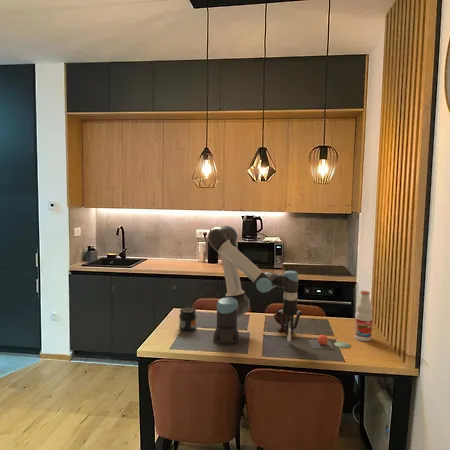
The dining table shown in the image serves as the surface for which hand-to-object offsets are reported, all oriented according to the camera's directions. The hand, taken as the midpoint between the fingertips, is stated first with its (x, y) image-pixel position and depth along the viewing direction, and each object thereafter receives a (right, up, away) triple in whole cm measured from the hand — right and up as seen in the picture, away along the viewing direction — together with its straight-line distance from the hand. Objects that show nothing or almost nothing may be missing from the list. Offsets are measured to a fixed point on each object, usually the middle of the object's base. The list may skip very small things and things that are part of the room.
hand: (288, 340), depth 211 cm
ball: (+19, 0, -1) cm, 19 cm away
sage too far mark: (+30, -3, 0) cm, 30 cm away
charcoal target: (+18, -2, 0) cm, 18 cm away
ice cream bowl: (-1, -1, +20) cm, 20 cm away
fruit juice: (+45, -2, +10) cm, 46 cm away
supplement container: (-59, +1, +20) cm, 62 cm away
